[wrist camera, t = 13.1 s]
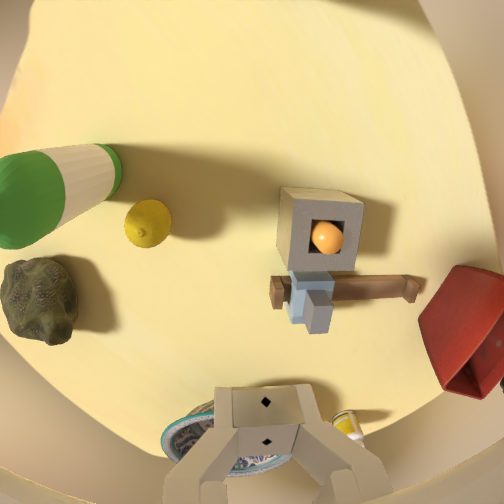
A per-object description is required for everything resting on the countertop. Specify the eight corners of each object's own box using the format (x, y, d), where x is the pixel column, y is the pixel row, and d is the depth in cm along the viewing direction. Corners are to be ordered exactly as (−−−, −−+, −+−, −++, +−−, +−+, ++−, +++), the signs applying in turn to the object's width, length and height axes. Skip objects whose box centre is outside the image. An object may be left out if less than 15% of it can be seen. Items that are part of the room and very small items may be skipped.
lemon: (184, 208, 37) (173, 225, 30) (163, 242, 38) (149, 266, 31) (148, 186, 36) (129, 197, 28) (129, 221, 37) (107, 240, 30)
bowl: (220, 347, 45) (220, 390, 37) (317, 403, 53) (329, 439, 44) (144, 412, 51) (136, 448, 42) (236, 453, 58) (238, 485, 50)
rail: (270, 275, 41) (275, 289, 38) (407, 274, 43) (419, 285, 40) (269, 294, 43) (273, 309, 39) (402, 290, 45) (414, 302, 41)
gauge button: (306, 214, 34) (318, 226, 29) (330, 215, 34) (345, 227, 30) (303, 238, 35) (315, 254, 30) (327, 239, 35) (341, 254, 31)
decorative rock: (10, 236, 36) (-27, 259, 26) (85, 259, 38) (54, 291, 29) (17, 310, 41) (-11, 340, 31) (85, 336, 43) (64, 375, 34)
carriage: (289, 265, 41) (304, 297, 33) (324, 266, 41) (345, 296, 33) (285, 305, 43) (297, 342, 35) (317, 304, 44) (335, 340, 35)
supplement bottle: (327, 423, 56) (338, 457, 47) (339, 409, 55) (352, 444, 45) (346, 424, 57) (358, 456, 48) (358, 409, 56) (372, 442, 46)
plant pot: (394, 327, 47) (441, 390, 32) (454, 239, 42) (521, 281, 26) (442, 351, 52) (482, 401, 36) (492, 281, 47) (543, 320, 31)
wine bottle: (122, 203, 36) (-43, 340, 8) (73, 197, 35) (-98, 304, 7) (128, 144, 33) (-76, 184, 5) (77, 142, 32) (-119, 184, 4)
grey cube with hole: (280, 186, 37) (294, 198, 30) (339, 190, 38) (364, 203, 30) (276, 247, 40) (287, 272, 32) (331, 248, 41) (353, 272, 33)
